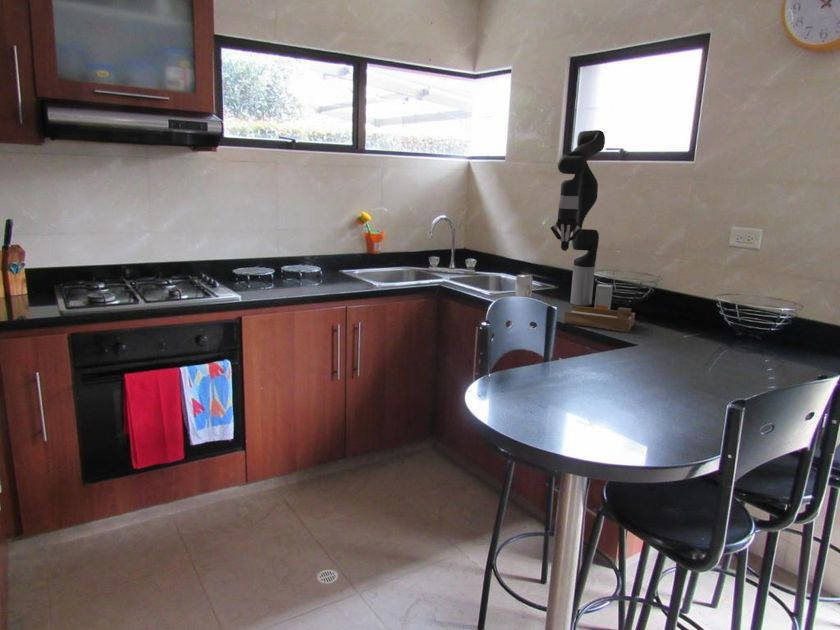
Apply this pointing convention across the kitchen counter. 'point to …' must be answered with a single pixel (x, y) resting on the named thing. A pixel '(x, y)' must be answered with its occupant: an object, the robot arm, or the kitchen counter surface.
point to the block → (623, 313)
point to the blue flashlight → (523, 285)
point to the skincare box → (603, 296)
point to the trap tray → (598, 318)
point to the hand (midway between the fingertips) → (564, 250)
